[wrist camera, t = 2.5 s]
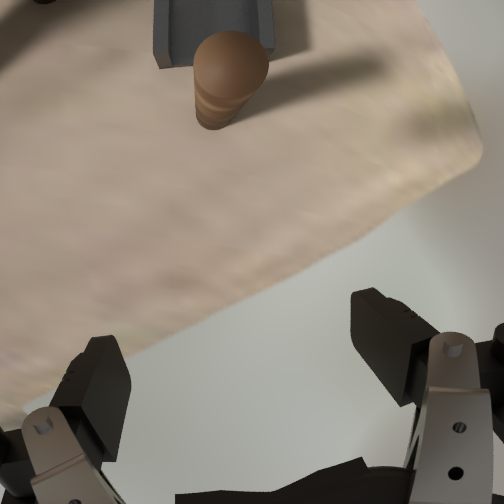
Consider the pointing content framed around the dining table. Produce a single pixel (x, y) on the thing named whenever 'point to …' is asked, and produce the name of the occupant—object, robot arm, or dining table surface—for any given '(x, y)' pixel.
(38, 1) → the coffee mug
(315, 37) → the dining table surface
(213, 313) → the dining table surface
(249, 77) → the walnut dowel
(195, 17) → the metal channel
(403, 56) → the dining table surface
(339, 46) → the dining table surface
